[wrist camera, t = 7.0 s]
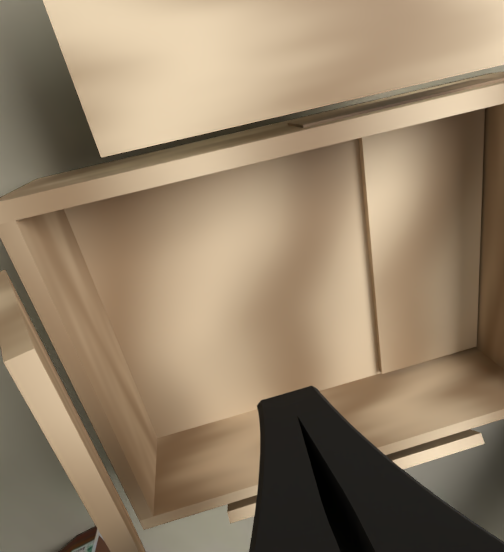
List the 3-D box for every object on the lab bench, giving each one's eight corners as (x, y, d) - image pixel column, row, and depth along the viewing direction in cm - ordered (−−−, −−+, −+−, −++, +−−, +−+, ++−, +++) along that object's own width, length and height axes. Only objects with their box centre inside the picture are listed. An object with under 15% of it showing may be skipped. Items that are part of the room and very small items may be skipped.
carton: (488, 71, 14) (609, 57, 10) (476, 401, 21) (548, 471, 17) (36, 176, 13) (-24, 205, 9) (171, 494, 19) (170, 593, 15)
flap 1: (5, 269, 10) (34, 348, 6) (128, 513, 13) (197, 663, 9) (-13, 276, 9) (3, 362, 6) (116, 520, 13) (181, 677, 9)
